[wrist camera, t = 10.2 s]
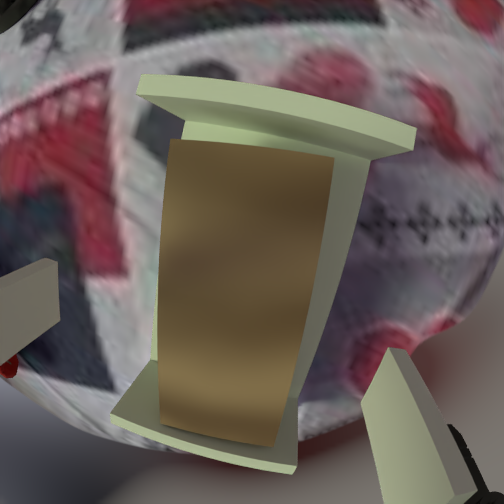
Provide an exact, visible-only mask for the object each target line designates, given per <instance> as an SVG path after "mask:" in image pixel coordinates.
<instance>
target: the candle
mask: <svg viewBox="0 0 504 504" xmlns="http://www.w3.org/2000/svg"><path fill="white" fill-rule="evenodd" d="M17 369H18V359H17V356H16V354H15V355H14V356H12V357H11V358H10V359H8V360H7V361H6V362H5V363H3V364H2V365H1V366H0V374H1V375H3V376H4V377H5V378H13V377H14V376H15V375H16V373H17Z"/></svg>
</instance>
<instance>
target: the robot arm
mask: <svg viewBox="0 0 504 504" xmlns="http://www.w3.org/2000/svg"><path fill="white" fill-rule="evenodd" d="M36 1H37V0H0V33H2V32H4V31H5V30H7V29H8V28H9V27H11V26H12V25H13V24H14V23H15V22H17V21H18V20H19V19H20V18H21V17H22V16H23V15H24V14H25V13H26V12H27V11H28V10H29V9H30V8H31V7H32V5H33V4H34V3H35V2H36ZM59 321H60V310H59V292H58V262H56V261H53V260H51V259H48V258H43V259H41V260H39V261H36V262H34V263H32V264H29V265H27V266H25V267H23V268H20V269H18V270H16V271H14V272H11V273H9V274H7V275H5V276H3V277H0V366H1V365H2V364H3V363H5V362H6V361H7V360H8V359H10V358H11V357H12V356H14V355H15V354H16V353H17V352H19V351H20V350H21V349H23V348H24V347H25V346H27V345H28V344H29V343H31V342H32V341H33V340H35V339H36V338H37V337H39V336H40V335H41V334H43V333H44V332H45V331H47V330H48V329H49V328H51V327H52V326H53V325H55V324H56V323H58V322H59ZM361 407H362V410H363V414H364V418H365V422H366V426H367V430H368V434H369V438H370V442H371V447H372V451H373V455H374V459H375V464H376V468H377V473H378V477H379V482H380V487H381V492H382V497H383V502H384V504H504V495H503V494H502V493H499V492H489V490H488V488H487V486H486V484H485V482H484V480H483V477H482V475H481V473H480V471H479V469H478V467H477V465H476V463H475V461H474V459H473V458H471V456H472V455H471V453H470V451H469V449H468V448H467V445H466V443H465V441H464V439H463V437H462V435H461V434H460V433H459V432H458V431H457V430H456V429H455V428H454V427H453V426H452V425H451V424H446V422H445V420H444V418H443V416H442V414H441V412H440V410H439V408H438V407H437V405H436V403H435V401H434V399H433V397H432V395H431V394H430V392H429V390H428V388H427V387H426V385H425V383H424V381H423V379H422V378H421V376H420V374H419V372H418V371H417V369H416V367H415V365H414V364H413V362H412V360H411V358H410V357H409V355H408V353H407V352H406V350H404V349H397V348H391V347H388V349H387V351H386V353H385V355H384V357H383V359H382V362H381V364H380V366H379V368H378V370H377V372H376V374H375V376H374V378H373V380H372V382H371V384H370V386H369V388H368V390H367V392H366V394H365V395H364V397H363V399H362V401H361Z"/></svg>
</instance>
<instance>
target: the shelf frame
mask: <svg viewBox="0 0 504 504" xmlns="http://www.w3.org/2000/svg"><path fill="white" fill-rule="evenodd" d="M136 95H138V96H140V97H142V98H144V99H146V100H148V101H150V102H152V103H154V104H156V105H157V106H159V107H161V108H163V109H165V110H167V111H169V112H171V113H172V114H174V115H176V116H178V117H180V118H182V119H183V120H185V125H184V130H183V134H182V138H181V139H184V140H199V141H212V142H224V143H234V144H244V145H253V146H261V147H269V148H277V149H284V150H291V151H297V152H304V153H310V154H316V155H322V156H328V157H333V158H335V160H334V167H333V174H332V181H331V188H330V195H329V201H328V208H327V214H326V220H325V226H324V232H323V238H322V243H321V249H320V254H319V260H318V265H317V270H316V276H315V281H314V286H313V291H312V295H311V300H310V305H309V310H308V314H307V319H306V324H305V328H304V332H303V337H302V341H301V345H300V350H299V354H298V358H297V362H296V366H295V370H294V374H293V378H292V382H291V386H290V390H289V394H288V398H287V401H286V405H285V409H284V412H283V416H282V420H281V423H280V427H279V430H278V434H277V437H276V440H275V444H274V447H269V446H261V445H255V444H249V443H243V442H237V441H232V440H226V439H221V438H217V437H212V436H207V435H203V434H199V433H195V432H191V431H187V430H183V429H179V428H175V427H172V426H168V425H165V424H161V423H160V409H159V389H158V357H157V306H158V281H157V289H156V299H155V308H154V319H153V331H152V343H151V358H150V361H149V362H148V364H147V365H146V366H145V368H144V369H143V370H142V371H141V373H140V374H139V375H138V377H137V378H136V379H135V381H134V382H133V383H132V385H131V386H130V387H129V389H128V390H127V391H126V393H125V394H124V395H123V397H122V398H121V399H120V401H119V402H118V403H117V405H116V406H115V407H114V409H113V410H112V411H111V413H110V417H111V423H112V424H115V425H117V426H119V427H122V428H124V429H126V430H129V431H131V432H134V433H136V434H139V435H141V436H144V437H147V438H149V439H152V440H155V441H157V442H160V443H163V444H166V445H169V446H172V447H175V448H178V449H181V450H184V451H188V452H191V453H194V454H198V455H201V456H205V457H208V458H212V459H216V460H220V461H224V462H228V463H232V464H237V465H241V466H246V467H251V468H256V469H261V470H267V471H273V472H279V473H286V474H293V472H294V471H295V469H296V467H297V447H298V445H297V444H298V397H299V394H300V392H301V389H302V387H303V384H304V382H305V379H306V377H307V374H308V372H309V369H310V366H311V364H312V361H313V358H314V356H315V353H316V350H317V347H318V345H319V342H320V339H321V336H322V333H323V331H324V328H325V325H326V322H327V319H328V316H329V313H330V310H331V307H332V304H333V301H334V298H335V294H336V291H337V288H338V285H339V282H340V278H341V275H342V272H343V268H344V265H345V262H346V258H347V255H348V251H349V248H350V244H351V240H352V237H353V233H354V229H355V225H356V222H357V218H358V214H359V210H360V206H361V202H362V198H363V193H364V189H365V185H366V180H367V176H368V172H369V167H370V162H371V160H375V159H379V158H383V157H387V156H392V155H396V154H400V153H404V152H409V151H413V148H414V143H415V137H416V130H417V128H415V127H412V126H410V125H407V124H404V123H402V122H399V121H396V120H393V119H390V118H387V117H385V116H382V115H379V114H375V113H372V112H369V111H366V110H363V109H359V108H356V107H353V106H349V105H346V104H342V103H339V102H335V101H331V100H327V99H323V98H319V97H315V96H311V95H307V94H302V93H298V92H293V91H288V90H283V89H278V88H273V87H267V86H262V85H256V84H249V83H243V82H236V81H228V80H220V79H211V78H201V77H190V76H176V75H155V74H141V78H140V81H139V85H138V89H137V92H136ZM158 273H159V272H158Z"/></svg>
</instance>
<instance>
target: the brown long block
mask: <svg viewBox="0 0 504 504" xmlns="http://www.w3.org/2000/svg"><path fill="white" fill-rule="evenodd" d="M334 160H335V158H333V157H328V156H322V155H316V154H310V153H304V152H297V151H291V150H284V149H277V148H269V147H261V146H253V145H244V144H234V143H224V142H212V141H199V140H184V139H170V147H169V154H168V162H167V171H166V180H165V189H164V200H163V211H162V223H161V237H160V253H159V273H158V306H157V357H158V389H159V409H160V423H161V424H165V425H168V426H172V427H175V428H179V429H183V430H187V431H191V432H195V433H199V434H203V435H207V436H212V437H217V438H221V439H226V440H232V441H237V442H243V443H249V444H255V445H261V446H269V447H274V444H275V440H276V437H277V434H278V430H279V427H280V423H281V420H282V416H283V412H284V409H285V405H286V401H287V398H288V394H289V390H290V386H291V382H292V378H293V374H294V370H295V366H296V362H297V358H298V354H299V350H300V345H301V341H302V337H303V332H304V328H305V324H306V319H307V314H308V310H309V305H310V300H311V295H312V291H313V286H314V281H315V276H316V270H317V265H318V260H319V254H320V249H321V243H322V238H323V232H324V226H325V220H326V214H327V208H328V201H329V195H330V188H331V181H332V174H333V167H334Z"/></svg>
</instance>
